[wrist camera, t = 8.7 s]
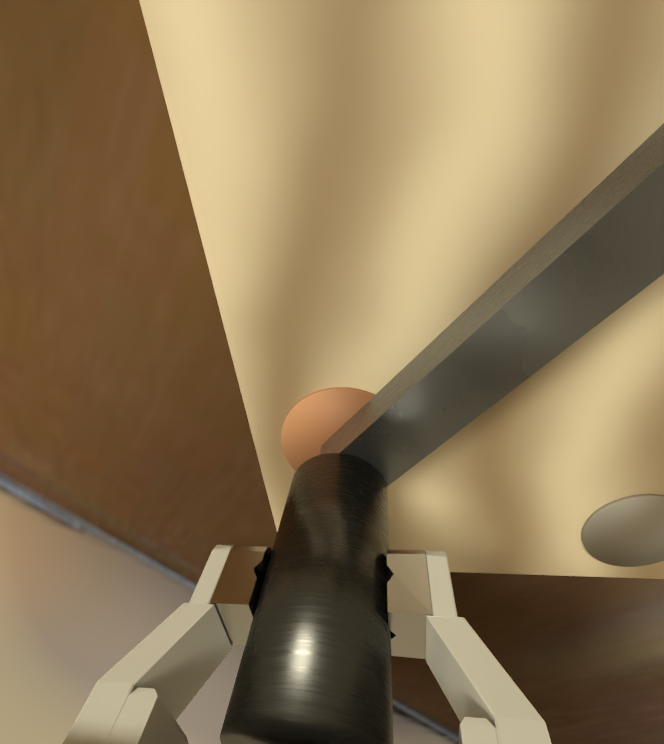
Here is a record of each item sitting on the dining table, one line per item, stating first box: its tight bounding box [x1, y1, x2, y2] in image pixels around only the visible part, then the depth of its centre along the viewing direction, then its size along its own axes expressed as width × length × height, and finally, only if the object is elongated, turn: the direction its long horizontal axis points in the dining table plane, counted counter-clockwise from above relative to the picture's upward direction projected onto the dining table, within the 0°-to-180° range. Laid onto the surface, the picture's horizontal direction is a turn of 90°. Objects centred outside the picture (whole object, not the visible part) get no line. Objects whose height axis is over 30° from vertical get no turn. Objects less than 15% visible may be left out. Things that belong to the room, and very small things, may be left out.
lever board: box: [140, 0, 664, 579], centre depth 13 cm, size 20×22×2 cm
